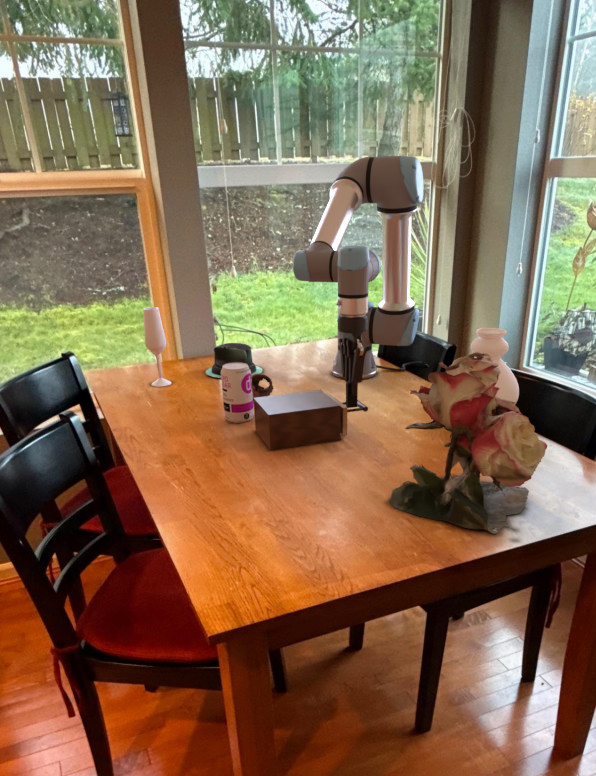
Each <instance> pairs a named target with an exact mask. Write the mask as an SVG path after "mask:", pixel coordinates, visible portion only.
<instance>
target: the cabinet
mask: <svg viewBox="0 0 596 776" xmlns="http://www.w3.org/2000/svg"><path fill="white" fill-rule="evenodd" d="M325 393H326V392H324V391H323V390H321V389H315V390H307V391H298V392H290V393H283V394H281V393H280V394H273V395H269V396H265V397H256V398H253V400H254V401H253V410H254V426H255V427H254V429H255V432H256V434H257V435H258V436H259V437H260V439H261V440H262V442H263V443H264V444H265V446H267V448H268V449H269V450H270V451H276V450H277V451H278V450H283V449H290V448H297V447H303V446H304V447H305V446H311V445H316V444H323V443H331V442H337V441H341V433H340V405H339V404H338V403H336V402H335V401H334V400H333V399H331V398H330V397H329V396H328V395H326V394H325Z"/></svg>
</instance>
